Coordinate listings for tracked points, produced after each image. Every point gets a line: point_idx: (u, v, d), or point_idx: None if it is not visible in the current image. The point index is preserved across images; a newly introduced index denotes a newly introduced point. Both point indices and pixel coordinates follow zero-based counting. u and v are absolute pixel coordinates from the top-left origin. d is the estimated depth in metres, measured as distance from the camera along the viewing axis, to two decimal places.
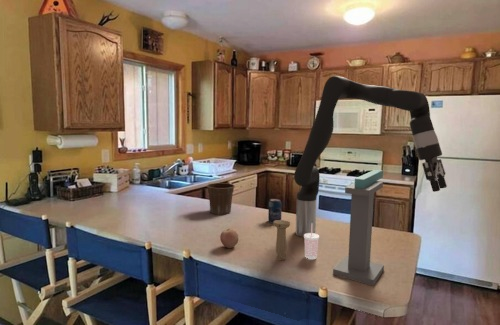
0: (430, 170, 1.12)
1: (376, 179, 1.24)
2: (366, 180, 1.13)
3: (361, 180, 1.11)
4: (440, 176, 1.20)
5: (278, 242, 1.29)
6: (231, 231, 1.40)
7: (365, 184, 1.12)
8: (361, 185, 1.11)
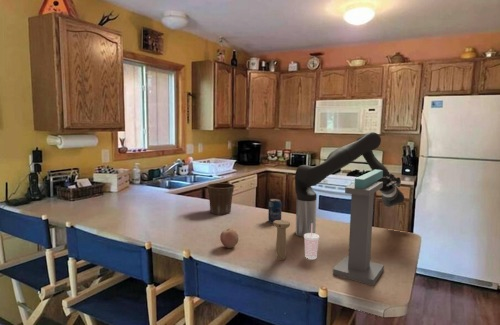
0: (399, 184, 1.47)
1: (376, 179, 1.24)
2: (366, 180, 1.13)
3: (361, 180, 1.11)
4: None
5: (278, 242, 1.29)
6: (231, 231, 1.40)
7: (365, 184, 1.12)
8: (361, 185, 1.11)
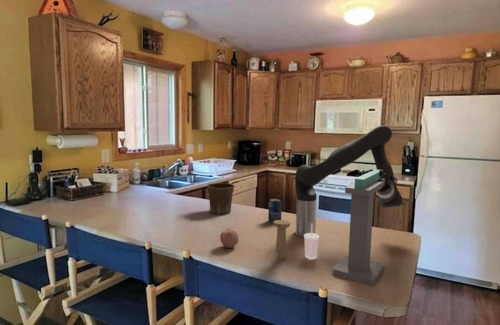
0: (393, 181, 1.30)
1: (376, 179, 1.24)
2: (366, 180, 1.13)
3: (361, 180, 1.11)
4: None
5: (278, 242, 1.29)
6: (231, 231, 1.40)
7: (365, 184, 1.12)
8: (361, 185, 1.11)
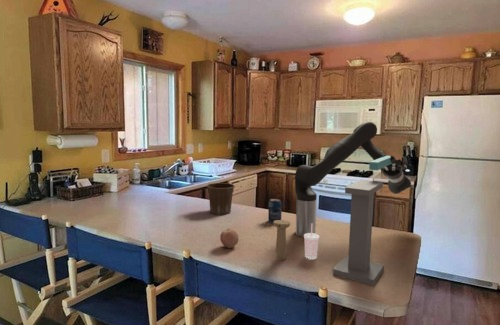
0: (402, 166, 1.44)
1: (388, 163, 1.38)
2: (379, 163, 1.27)
3: (375, 163, 1.25)
4: None
5: (278, 242, 1.29)
6: (231, 231, 1.40)
7: (379, 167, 1.26)
8: (375, 167, 1.25)
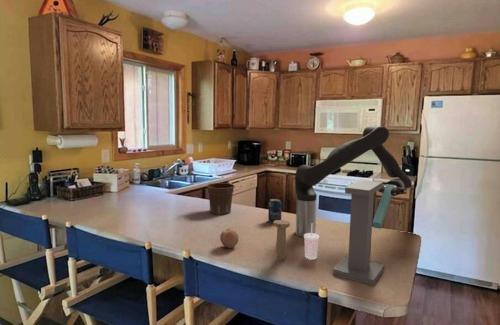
0: (403, 193, 1.50)
1: (389, 201, 1.45)
2: (382, 219, 1.35)
3: (378, 223, 1.33)
4: None
5: (278, 242, 1.29)
6: (231, 231, 1.40)
7: (381, 223, 1.35)
8: (378, 226, 1.33)
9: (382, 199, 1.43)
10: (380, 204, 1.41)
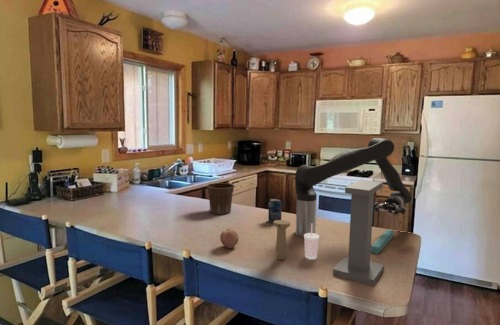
0: (405, 211, 1.51)
1: (388, 241, 1.50)
2: (380, 247, 1.39)
3: (376, 248, 1.37)
4: None
5: (278, 242, 1.29)
6: (231, 231, 1.40)
7: (379, 250, 1.38)
8: (376, 252, 1.37)
9: (382, 236, 1.50)
10: (380, 238, 1.47)
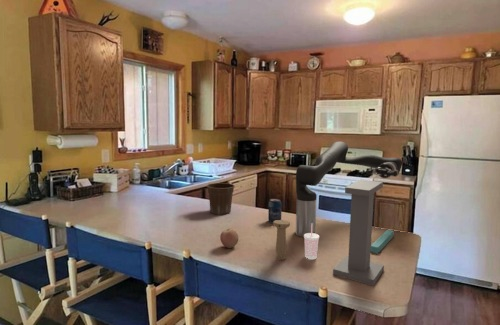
0: (397, 174, 1.60)
1: (388, 241, 1.50)
2: (380, 246, 1.39)
3: (376, 247, 1.37)
4: (371, 171, 1.64)
5: (278, 242, 1.29)
6: (231, 231, 1.40)
7: (379, 250, 1.39)
8: (376, 251, 1.37)
9: (382, 236, 1.50)
10: (379, 238, 1.47)
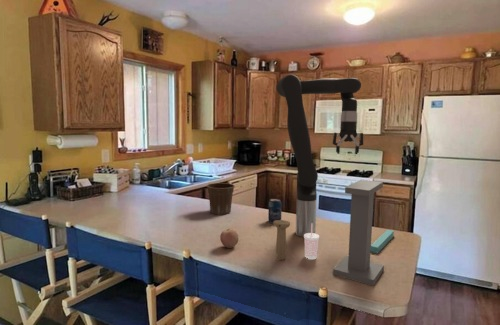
0: None
1: (388, 241, 1.50)
2: (379, 246, 1.39)
3: (375, 247, 1.37)
4: (338, 145, 1.63)
5: (278, 242, 1.29)
6: (231, 231, 1.40)
7: (378, 250, 1.39)
8: (375, 251, 1.37)
9: (382, 236, 1.50)
10: (379, 238, 1.47)
